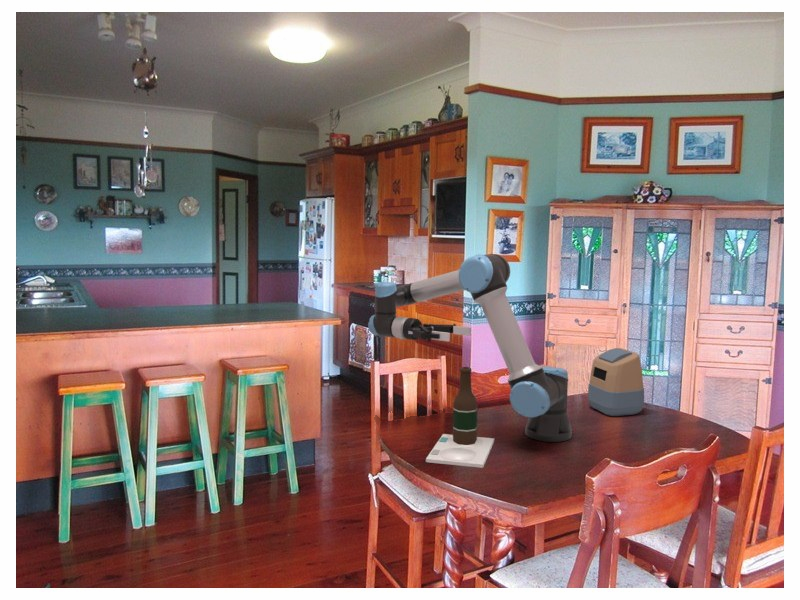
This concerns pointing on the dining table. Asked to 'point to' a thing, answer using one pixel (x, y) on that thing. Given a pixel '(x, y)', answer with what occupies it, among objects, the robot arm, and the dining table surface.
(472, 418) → the beer bottle
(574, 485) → the dining table surface
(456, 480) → the dining table surface
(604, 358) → the tan tapered boxy piece
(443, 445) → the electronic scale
